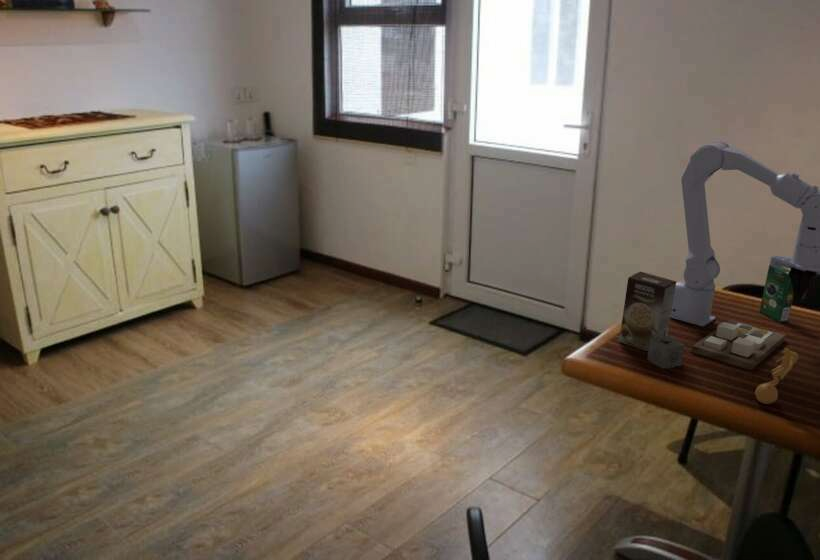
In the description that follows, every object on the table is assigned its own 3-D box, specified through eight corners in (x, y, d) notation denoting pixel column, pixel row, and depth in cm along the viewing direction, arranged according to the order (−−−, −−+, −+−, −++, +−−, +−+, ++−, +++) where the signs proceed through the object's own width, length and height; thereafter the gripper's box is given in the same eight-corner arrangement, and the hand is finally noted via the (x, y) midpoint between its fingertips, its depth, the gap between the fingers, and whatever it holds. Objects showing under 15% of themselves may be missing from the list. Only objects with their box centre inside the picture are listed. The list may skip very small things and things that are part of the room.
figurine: (752, 391, 146) (763, 336, 142) (785, 397, 144) (797, 342, 140) (754, 410, 139) (766, 353, 135) (789, 416, 137) (802, 358, 133)
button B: (741, 350, 166) (743, 339, 165) (746, 345, 168) (748, 335, 167) (757, 354, 163) (759, 344, 162) (762, 350, 166) (764, 339, 165)
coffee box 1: (617, 342, 168) (626, 276, 163) (630, 334, 173) (639, 270, 168) (654, 354, 162) (665, 286, 157) (667, 346, 167) (677, 280, 162)
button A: (715, 336, 169) (717, 325, 168) (721, 331, 171) (723, 321, 171) (731, 340, 167) (733, 330, 166) (737, 336, 169) (739, 326, 168)
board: (691, 352, 164) (692, 344, 163) (728, 325, 180) (730, 318, 180) (750, 370, 156) (752, 362, 155) (784, 340, 172) (786, 333, 171)
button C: (702, 350, 164) (704, 340, 164) (709, 346, 167) (710, 335, 166) (718, 355, 162) (720, 345, 161) (724, 351, 165) (726, 340, 164)
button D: (731, 352, 160) (733, 341, 159) (736, 347, 163) (738, 337, 162) (747, 357, 158) (750, 346, 157) (753, 352, 160) (755, 341, 160)
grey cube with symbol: (647, 360, 160) (650, 339, 158) (665, 356, 161) (668, 336, 160) (663, 369, 155) (666, 348, 154) (681, 366, 157) (684, 344, 155)
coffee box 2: (789, 322, 184) (800, 273, 179) (779, 323, 183) (790, 274, 179) (768, 311, 191) (777, 263, 187) (758, 311, 190) (768, 264, 186)
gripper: (770, 241, 165) (759, 297, 170) (841, 254, 156) (827, 313, 161) (780, 235, 170) (769, 290, 175) (849, 248, 161) (835, 305, 166)
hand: (797, 301), depth 168 cm, fingers closed
